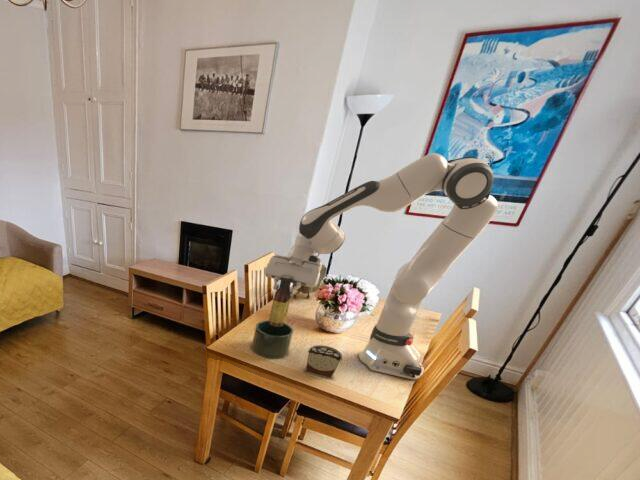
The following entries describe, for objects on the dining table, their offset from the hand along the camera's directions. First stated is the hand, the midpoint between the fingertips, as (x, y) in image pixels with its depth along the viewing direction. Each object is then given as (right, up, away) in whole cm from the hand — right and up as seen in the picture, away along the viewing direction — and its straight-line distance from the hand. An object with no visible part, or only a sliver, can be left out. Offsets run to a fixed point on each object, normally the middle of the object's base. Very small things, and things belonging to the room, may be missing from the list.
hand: (283, 291), depth 151 cm
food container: (+15, -31, +2) cm, 35 cm away
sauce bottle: (+1, -12, +9) cm, 15 cm away
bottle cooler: (0, -21, +15) cm, 26 cm away
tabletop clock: (+35, +11, +60) cm, 71 cm away
